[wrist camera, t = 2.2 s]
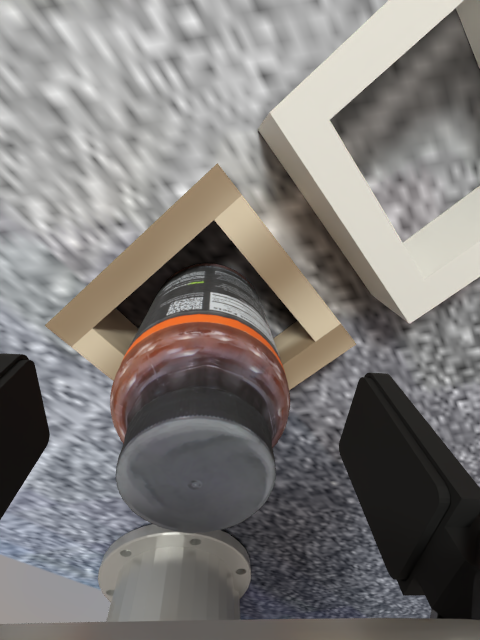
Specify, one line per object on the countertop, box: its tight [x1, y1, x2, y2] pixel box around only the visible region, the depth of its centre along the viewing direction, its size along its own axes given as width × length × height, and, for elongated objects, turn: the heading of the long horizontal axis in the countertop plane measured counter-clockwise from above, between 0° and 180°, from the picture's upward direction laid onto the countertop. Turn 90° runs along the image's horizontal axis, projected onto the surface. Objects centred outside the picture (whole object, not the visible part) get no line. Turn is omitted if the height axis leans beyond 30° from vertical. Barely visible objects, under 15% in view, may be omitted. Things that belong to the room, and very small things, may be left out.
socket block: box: [258, 0, 480, 324], centre depth 13 cm, size 11×11×5 cm
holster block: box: [45, 163, 356, 390], centre depth 17 cm, size 11×11×3 cm
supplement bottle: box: [110, 263, 290, 533], centre depth 13 cm, size 6×6×11 cm
